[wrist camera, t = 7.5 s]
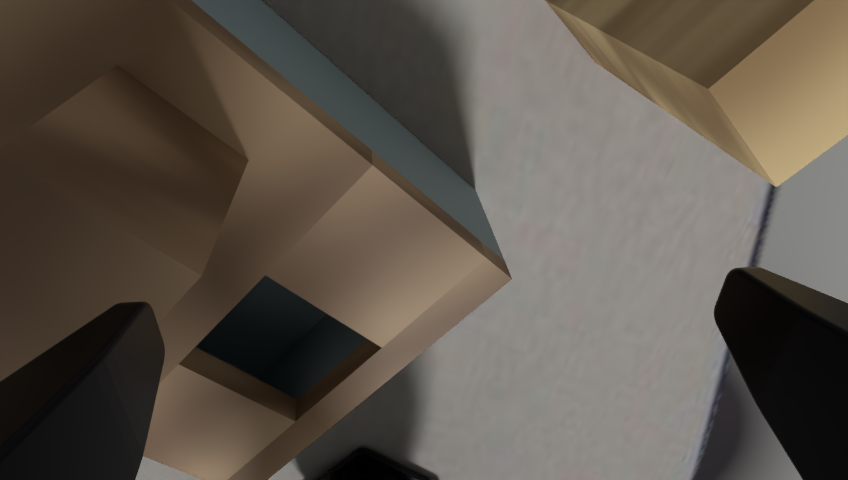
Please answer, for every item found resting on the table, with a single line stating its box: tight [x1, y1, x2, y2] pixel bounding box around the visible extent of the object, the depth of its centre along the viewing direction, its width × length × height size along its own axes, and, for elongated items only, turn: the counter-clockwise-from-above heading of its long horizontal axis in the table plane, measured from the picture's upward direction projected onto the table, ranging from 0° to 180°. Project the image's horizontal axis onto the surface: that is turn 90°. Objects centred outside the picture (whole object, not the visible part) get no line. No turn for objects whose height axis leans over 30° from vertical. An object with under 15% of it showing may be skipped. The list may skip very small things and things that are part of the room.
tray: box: [192, 0, 504, 400], centre depth 17 cm, size 20×14×5 cm
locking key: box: [545, 0, 848, 187], centre depth 14 cm, size 3×3×10 cm
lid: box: [0, 0, 512, 480], centre depth 13 cm, size 20×14×6 cm
